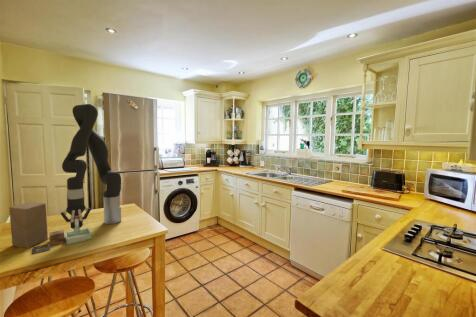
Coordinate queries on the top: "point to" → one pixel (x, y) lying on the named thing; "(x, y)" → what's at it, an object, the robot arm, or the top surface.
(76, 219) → the pin
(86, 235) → the tray
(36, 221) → the wooden block
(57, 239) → the block
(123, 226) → the top surface
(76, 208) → the robot arm
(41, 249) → the pin socket
